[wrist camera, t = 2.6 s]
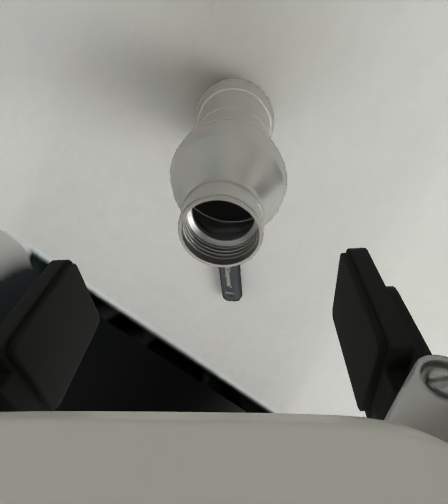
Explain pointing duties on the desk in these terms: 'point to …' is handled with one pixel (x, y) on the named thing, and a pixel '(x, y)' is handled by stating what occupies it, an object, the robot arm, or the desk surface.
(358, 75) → the desk surface
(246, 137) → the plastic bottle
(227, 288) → the usb stick
